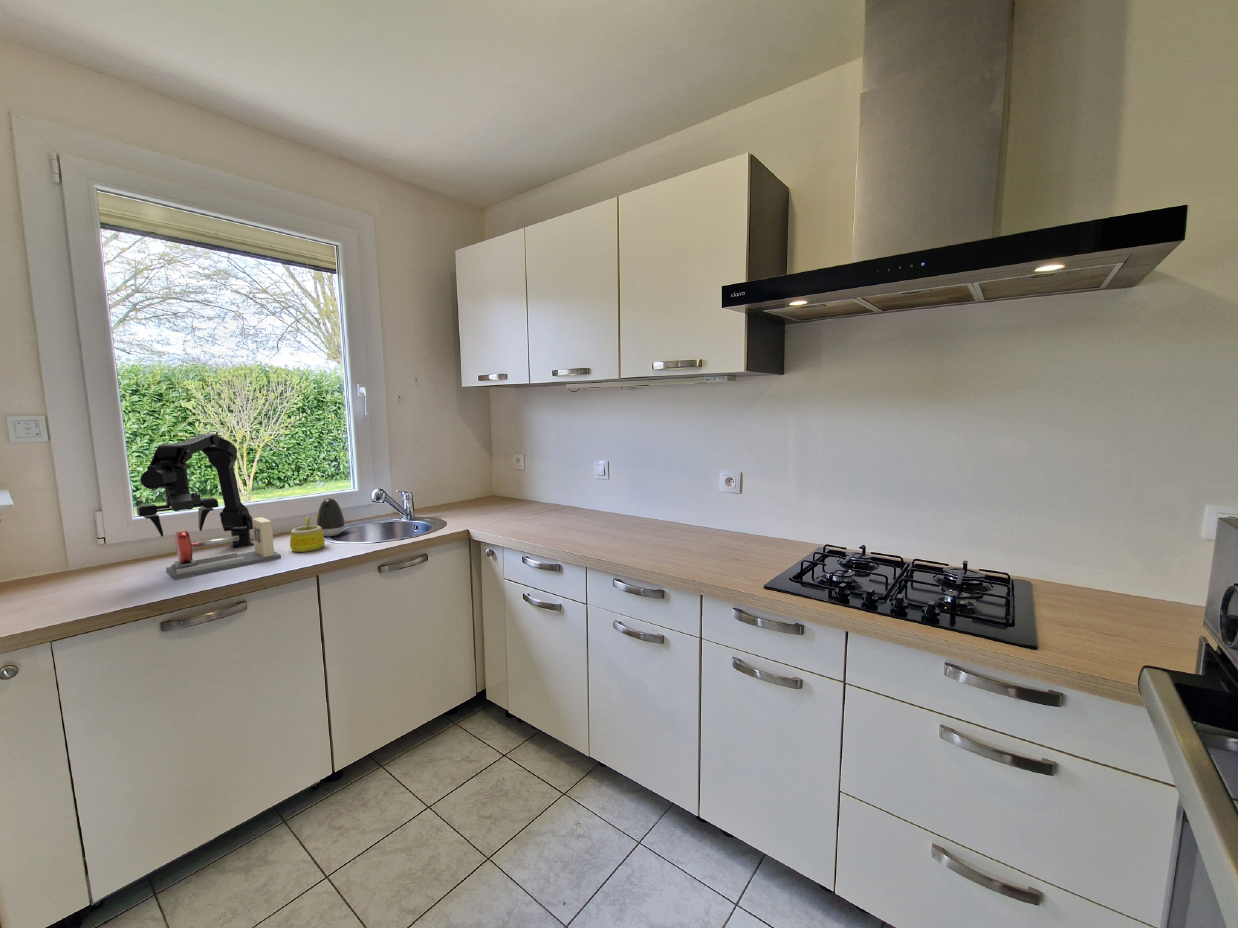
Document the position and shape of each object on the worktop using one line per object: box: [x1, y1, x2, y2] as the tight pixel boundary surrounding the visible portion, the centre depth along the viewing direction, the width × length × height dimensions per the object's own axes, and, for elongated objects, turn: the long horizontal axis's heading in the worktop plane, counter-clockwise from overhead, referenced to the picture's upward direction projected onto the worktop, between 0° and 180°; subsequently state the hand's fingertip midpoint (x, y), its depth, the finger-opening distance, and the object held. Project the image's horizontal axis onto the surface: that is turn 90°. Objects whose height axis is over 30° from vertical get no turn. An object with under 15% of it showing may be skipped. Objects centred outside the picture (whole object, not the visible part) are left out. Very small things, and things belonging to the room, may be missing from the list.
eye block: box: [165, 516, 282, 581], centre depth 166 cm, size 13×28×13 cm, turn 140°
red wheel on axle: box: [173, 530, 239, 569], centre depth 163 cm, size 10×16×12 cm, turn 140°
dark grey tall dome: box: [315, 497, 346, 537], centre depth 204 cm, size 10×10×15 cm
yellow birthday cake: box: [289, 513, 325, 553], centre depth 184 cm, size 13×11×12 cm
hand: (181, 533), depth 157 cm, fingers open, 9 cm apart
